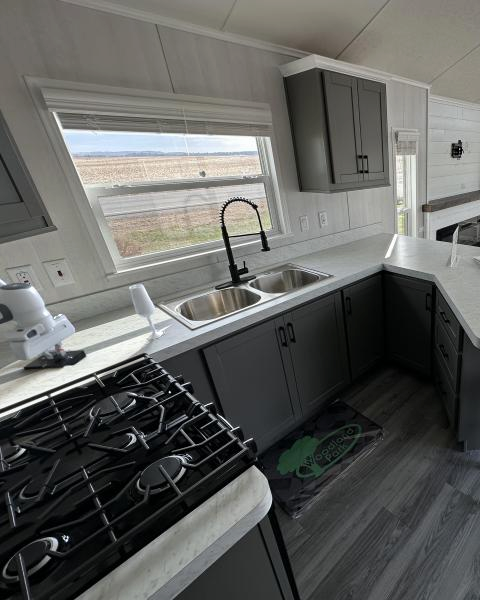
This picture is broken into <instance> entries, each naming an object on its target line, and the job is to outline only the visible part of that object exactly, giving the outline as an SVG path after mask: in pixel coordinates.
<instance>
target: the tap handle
mask: <svg viewBox="0 0 480 600" xmlns="http://www.w3.org/2000/svg"><path fill="white" fill-rule="evenodd" d="M65 351H66V350H65V349H64V348H61V349H53V350H49V353H50V354H52V353H54V354H55V356H56V357H55V358H53V359H65V358H66V357H68V356H67V354H66V352H65ZM43 356H44V357H45V359H46V360H48V359H47V357H46V356H45V355H43Z"/></svg>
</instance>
